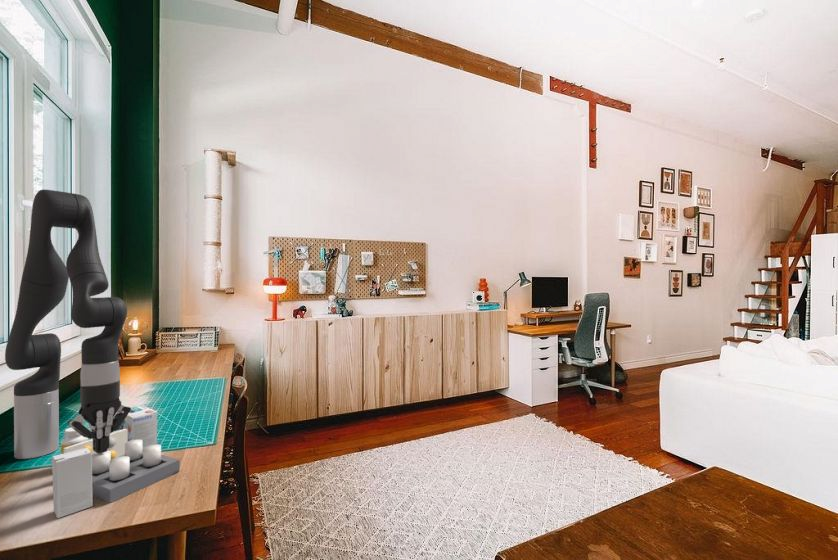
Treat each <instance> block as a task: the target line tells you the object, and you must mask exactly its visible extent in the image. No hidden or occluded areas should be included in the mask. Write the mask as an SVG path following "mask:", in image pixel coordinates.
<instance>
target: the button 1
mask: <svg viewBox="0 0 838 560" xmlns="http://www.w3.org/2000/svg"><path fill="white" fill-rule="evenodd" d="M110 461H111V451H106V452H104V453H101V454H98V453H94V454H92V455H91V462H92V474H99V473H103V472H106V471H108V470H109V462H110Z"/></svg>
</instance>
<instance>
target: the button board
mask: <svg viewBox="0 0 838 560" xmlns="http://www.w3.org/2000/svg"><path fill="white" fill-rule="evenodd" d="M122 456H125V455H122ZM122 456H119V457H122ZM111 460H112V459H111ZM180 463H181V460H180V459H178V458H174V457H171V456H168V455H163V454H161V463H159V464H157V465H155V466H150V467H145V466H143V456H142V457H141V458H139V459H137V460H133V461H130V475H129V476H128V477H126V478H124V479H121V480H115V481H112V480H110V479H109V470H108V471H106V472H103V473H99V474H92V497H94V498H95V499H99V500H102V501H104V502H106V503H109V504H112V503H114V502H116V501H118V500H120V499H123V498H124V497H125V498H126V497H127V496H129V495H131V494H133V493H137V492H138V491H141V490H142V489H143V490H144V489H145V488H146V487H149V486H151V485H153V484H155V483H158V482H160V481H162V480H164V479H167V478H168V477H169V478H170V477H172V476H174V475H175V474H178V473H180V470H181V469H180Z"/></svg>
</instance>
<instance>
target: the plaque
mask: <svg viewBox="0 0 838 560" xmlns="http://www.w3.org/2000/svg"><path fill="white" fill-rule="evenodd" d="M126 442H128V433H127V429H123V430H119V431H113V432H112V433H111V434H110V435H109V448H108V449H107V451H111V459H114V458H117V457H119V456H122V455H125V443H126ZM83 448H88V450H89V451H90V452H91V455H92V454H94V453H96V452H95V451H93V439H88V441H85V442H81V443H78V444H75V445H72V446H69V447H66V448H64V453H68V452H72V451H75V450H79V449H83Z"/></svg>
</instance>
